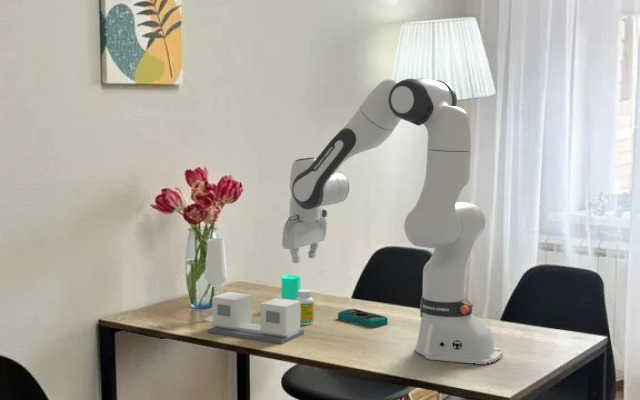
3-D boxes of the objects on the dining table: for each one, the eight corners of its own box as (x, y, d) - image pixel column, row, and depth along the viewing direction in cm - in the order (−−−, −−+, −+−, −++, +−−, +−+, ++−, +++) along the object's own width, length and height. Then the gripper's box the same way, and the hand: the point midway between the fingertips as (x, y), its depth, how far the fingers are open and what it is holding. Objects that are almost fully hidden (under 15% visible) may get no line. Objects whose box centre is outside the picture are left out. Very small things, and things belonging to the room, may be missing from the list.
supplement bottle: (301, 326, 261) (301, 293, 260) (291, 322, 265) (291, 289, 264) (316, 323, 264) (317, 291, 263) (306, 320, 268) (307, 287, 267)
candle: (279, 307, 284) (279, 270, 282) (297, 306, 285) (297, 269, 284) (284, 312, 278) (284, 273, 277) (302, 311, 280) (303, 272, 278)
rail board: (303, 334, 252) (303, 299, 251) (281, 344, 242) (282, 308, 241) (232, 323, 264) (232, 290, 262) (208, 332, 253) (208, 298, 252)
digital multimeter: (353, 316, 275) (353, 307, 275) (388, 325, 264) (388, 316, 264) (335, 320, 270) (336, 310, 270) (371, 330, 259) (371, 320, 259)
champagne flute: (211, 322, 264) (211, 242, 261) (200, 318, 269) (200, 239, 267) (231, 319, 268) (231, 240, 265) (220, 315, 273) (220, 237, 271)
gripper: (296, 218, 251) (295, 267, 252) (330, 210, 268) (329, 256, 270) (277, 216, 254) (276, 264, 255) (311, 208, 271) (311, 254, 273)
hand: (304, 260), depth 263 cm, fingers open, 8 cm apart
